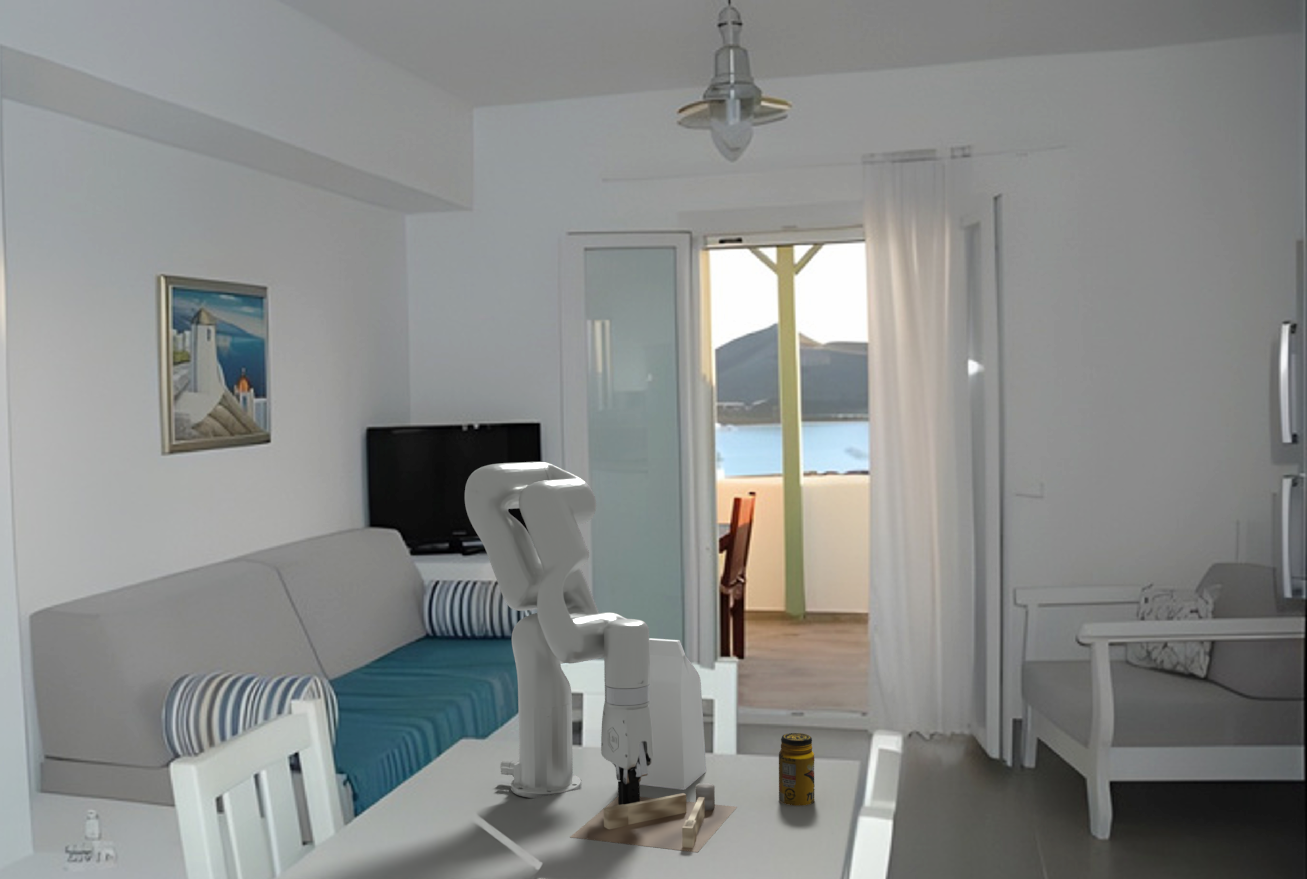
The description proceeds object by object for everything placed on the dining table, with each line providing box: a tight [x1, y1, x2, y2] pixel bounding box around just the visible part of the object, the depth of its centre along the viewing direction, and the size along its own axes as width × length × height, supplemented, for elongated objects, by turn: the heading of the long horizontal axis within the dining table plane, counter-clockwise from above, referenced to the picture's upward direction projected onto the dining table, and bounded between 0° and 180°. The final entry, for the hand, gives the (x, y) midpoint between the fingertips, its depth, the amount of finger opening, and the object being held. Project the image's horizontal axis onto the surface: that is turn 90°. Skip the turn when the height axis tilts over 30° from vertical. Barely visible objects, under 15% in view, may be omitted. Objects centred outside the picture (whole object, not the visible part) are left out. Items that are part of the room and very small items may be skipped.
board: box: [569, 796, 738, 854], centre depth 201 cm, size 21×22×1 cm
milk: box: [639, 637, 707, 791], centre depth 224 cm, size 12×12×26 cm
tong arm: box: [603, 792, 687, 829], centre depth 202 cm, size 15×2×3 cm, turn 120°
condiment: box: [778, 732, 815, 807], centre depth 211 cm, size 7×8×12 cm
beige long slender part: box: [682, 782, 716, 848], centre depth 199 cm, size 20×3×4 cm, turn 169°
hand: (629, 804), depth 206 cm, fingers closed
